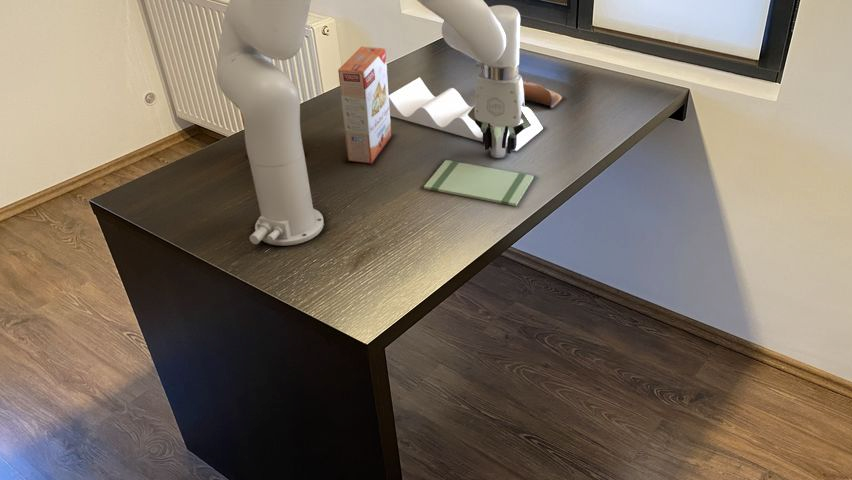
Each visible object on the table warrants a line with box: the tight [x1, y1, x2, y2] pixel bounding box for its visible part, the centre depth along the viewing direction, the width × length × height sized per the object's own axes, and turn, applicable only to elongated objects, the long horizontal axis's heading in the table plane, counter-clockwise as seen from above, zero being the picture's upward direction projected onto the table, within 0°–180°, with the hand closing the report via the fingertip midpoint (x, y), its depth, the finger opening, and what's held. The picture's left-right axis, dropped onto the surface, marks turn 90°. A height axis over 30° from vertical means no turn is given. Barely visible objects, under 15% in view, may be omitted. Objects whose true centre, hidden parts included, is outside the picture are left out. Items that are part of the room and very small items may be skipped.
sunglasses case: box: [522, 80, 563, 109], centre depth 189 cm, size 18×7×7 cm
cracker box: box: [337, 46, 392, 165], centre depth 161 cm, size 14×6×21 cm, turn 168°
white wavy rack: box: [389, 77, 544, 152], centre depth 177 cm, size 13×35×5 cm, turn 60°
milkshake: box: [489, 123, 509, 159], centre depth 162 cm, size 4×5×10 cm
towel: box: [423, 159, 535, 207], centre depth 156 cm, size 12×20×1 cm, turn 71°
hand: (499, 148), depth 165 cm, fingers open, 4 cm apart
